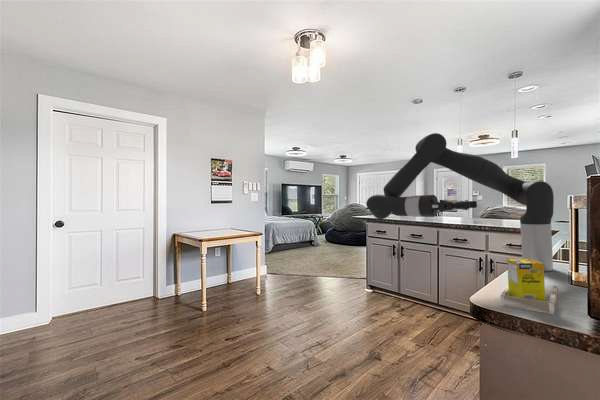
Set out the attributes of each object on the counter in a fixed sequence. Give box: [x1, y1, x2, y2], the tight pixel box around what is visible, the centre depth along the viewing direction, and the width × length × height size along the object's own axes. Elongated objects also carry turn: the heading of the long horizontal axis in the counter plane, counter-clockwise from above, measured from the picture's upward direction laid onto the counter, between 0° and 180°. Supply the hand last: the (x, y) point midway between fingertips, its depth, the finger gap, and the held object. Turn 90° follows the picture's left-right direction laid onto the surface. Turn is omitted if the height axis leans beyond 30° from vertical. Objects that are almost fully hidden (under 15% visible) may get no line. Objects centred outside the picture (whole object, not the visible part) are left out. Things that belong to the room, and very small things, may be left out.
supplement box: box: [506, 258, 546, 301], centre depth 79 cm, size 6×6×11 cm
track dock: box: [499, 285, 559, 315], centre depth 83 cm, size 22×11×2 cm, turn 137°
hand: (473, 204), depth 94 cm, fingers open, 8 cm apart
